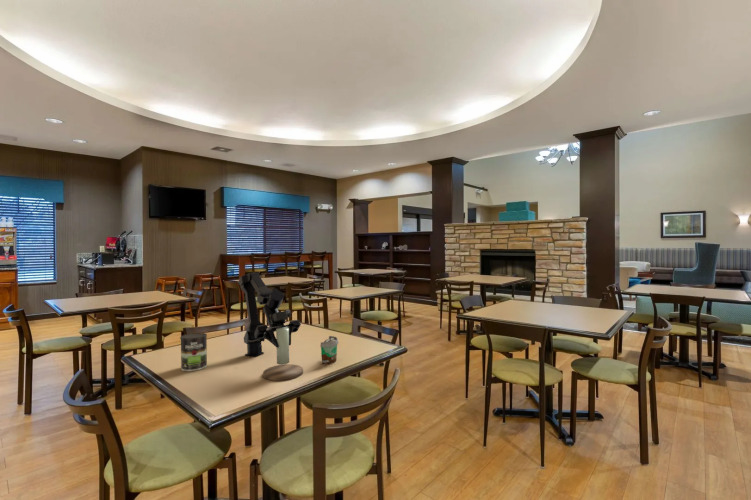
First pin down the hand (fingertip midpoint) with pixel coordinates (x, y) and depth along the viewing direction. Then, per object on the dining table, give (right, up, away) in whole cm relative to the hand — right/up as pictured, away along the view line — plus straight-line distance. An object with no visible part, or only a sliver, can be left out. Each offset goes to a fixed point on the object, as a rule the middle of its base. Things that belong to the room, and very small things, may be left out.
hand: (284, 346), depth 147 cm
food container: (+18, -11, +16) cm, 27 cm away
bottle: (-1, -7, +1) cm, 7 cm away
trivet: (-1, -12, +1) cm, 12 cm away
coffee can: (-42, -12, +10) cm, 45 cm away
